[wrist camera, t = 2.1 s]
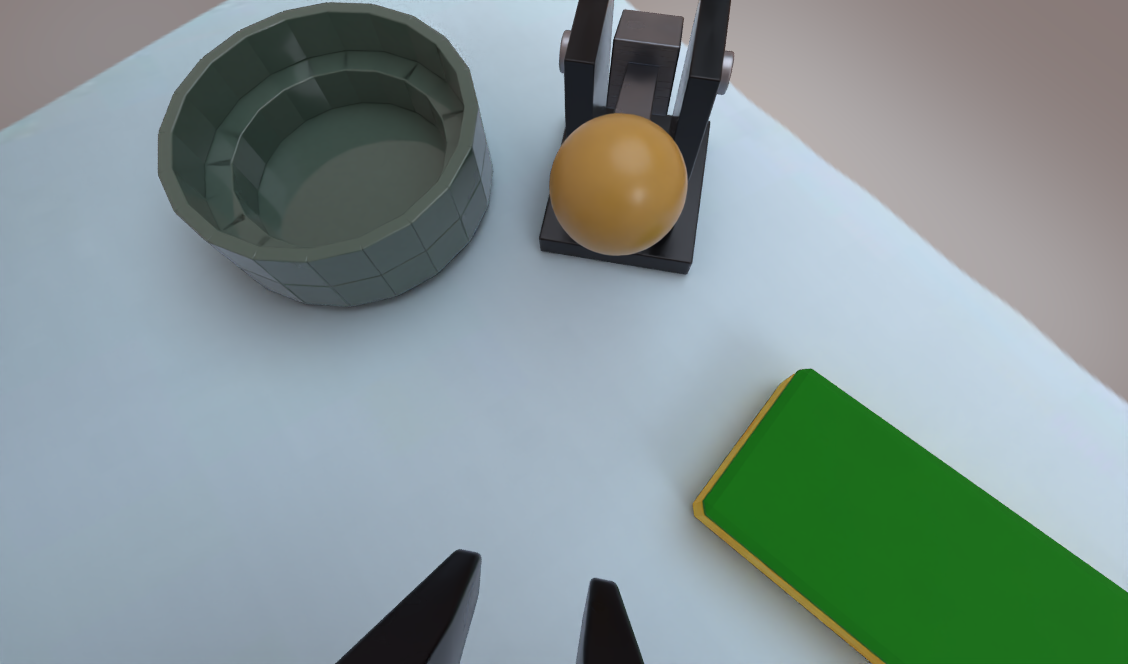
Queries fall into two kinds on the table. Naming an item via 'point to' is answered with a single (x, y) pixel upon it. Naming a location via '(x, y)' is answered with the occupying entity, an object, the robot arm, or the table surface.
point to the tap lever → (626, 148)
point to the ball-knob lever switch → (687, 126)
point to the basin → (330, 152)
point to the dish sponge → (901, 543)
